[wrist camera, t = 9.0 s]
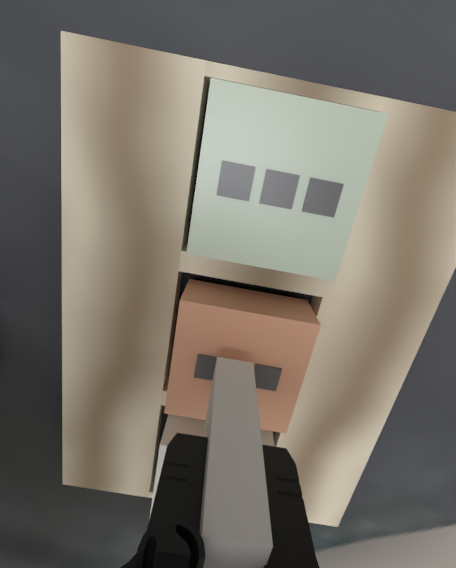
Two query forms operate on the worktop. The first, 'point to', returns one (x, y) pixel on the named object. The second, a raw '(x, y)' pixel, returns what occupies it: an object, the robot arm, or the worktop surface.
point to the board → (230, 267)
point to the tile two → (240, 348)
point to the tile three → (280, 178)
